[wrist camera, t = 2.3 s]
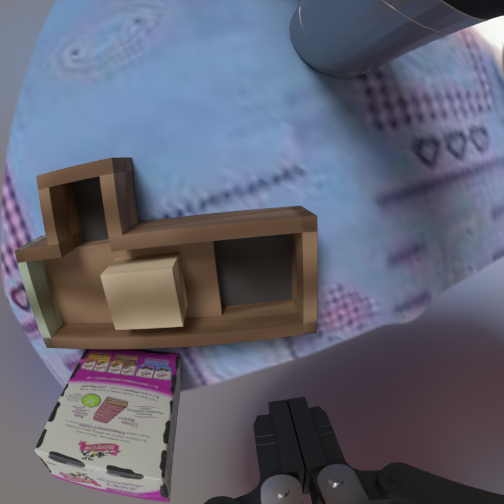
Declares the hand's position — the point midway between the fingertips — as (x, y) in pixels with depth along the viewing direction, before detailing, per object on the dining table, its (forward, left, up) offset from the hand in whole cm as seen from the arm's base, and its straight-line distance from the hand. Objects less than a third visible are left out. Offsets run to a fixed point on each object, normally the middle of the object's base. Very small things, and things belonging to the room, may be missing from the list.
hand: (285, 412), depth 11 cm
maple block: (0, -9, -16) cm, 19 cm away
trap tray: (-3, -8, -18) cm, 20 cm away
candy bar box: (+11, -14, -18) cm, 26 cm away
